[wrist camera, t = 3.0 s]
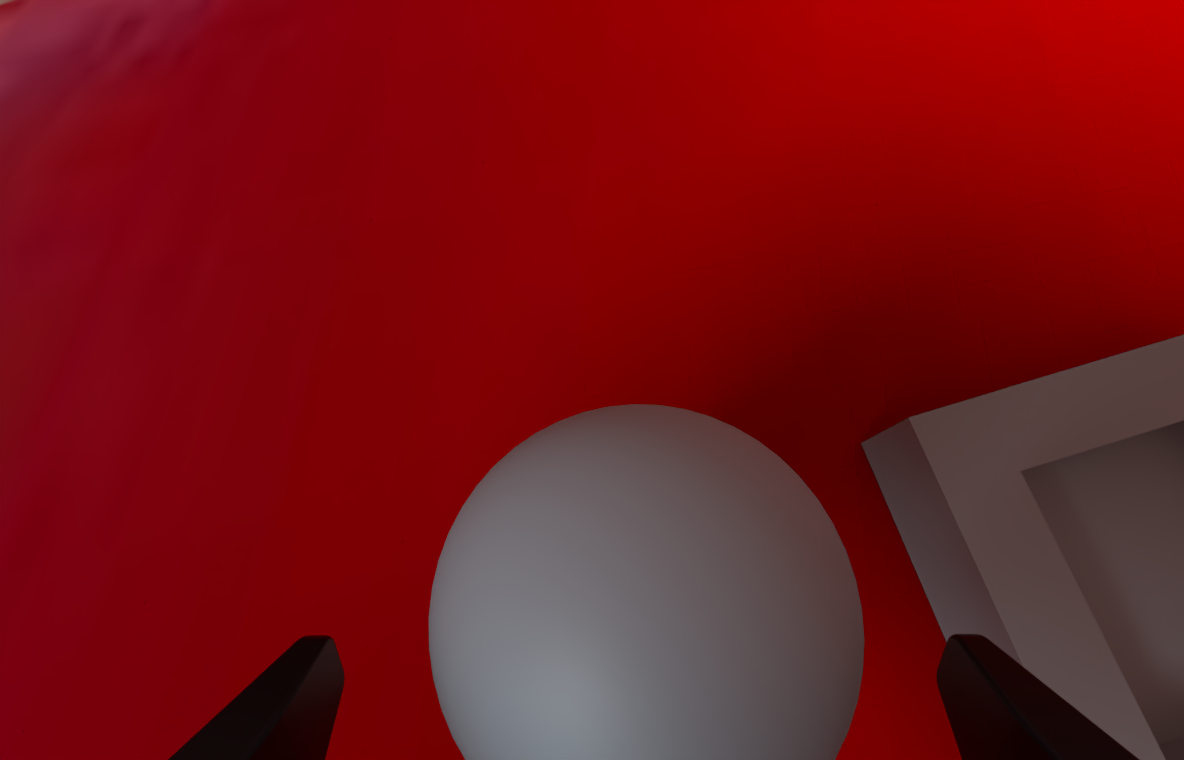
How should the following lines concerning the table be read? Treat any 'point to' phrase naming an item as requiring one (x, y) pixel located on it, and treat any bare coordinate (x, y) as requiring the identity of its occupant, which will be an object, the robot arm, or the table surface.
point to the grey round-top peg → (645, 600)
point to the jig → (1060, 532)
